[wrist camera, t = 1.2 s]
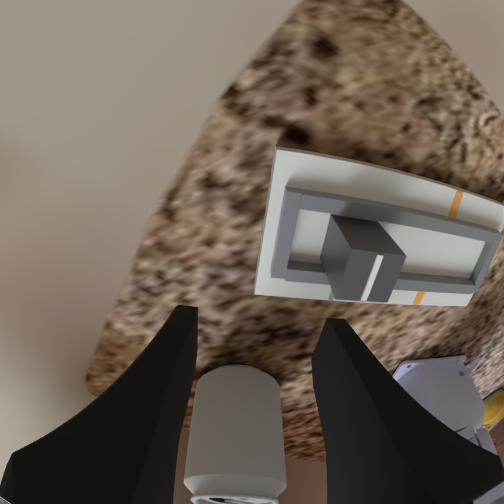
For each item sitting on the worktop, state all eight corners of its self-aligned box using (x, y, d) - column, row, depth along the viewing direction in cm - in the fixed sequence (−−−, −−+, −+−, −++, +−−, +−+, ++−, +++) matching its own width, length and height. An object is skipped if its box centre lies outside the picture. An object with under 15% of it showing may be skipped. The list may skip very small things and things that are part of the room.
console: (500, 202, 17) (517, 213, 15) (460, 297, 21) (472, 313, 19) (275, 145, 16) (278, 153, 14) (254, 283, 20) (254, 304, 18)
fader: (377, 221, 16) (407, 256, 13) (364, 262, 18) (388, 303, 14) (330, 214, 16) (352, 250, 13) (319, 257, 18) (335, 300, 14)
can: (182, 384, 26) (163, 501, 15) (230, 345, 23) (221, 491, 12) (244, 411, 28) (243, 516, 18) (296, 379, 25) (310, 503, 15)
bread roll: (495, 386, 31) (504, 404, 28) (510, 388, 33) (519, 404, 30) (459, 417, 35) (467, 435, 31) (479, 416, 37) (486, 432, 33)
